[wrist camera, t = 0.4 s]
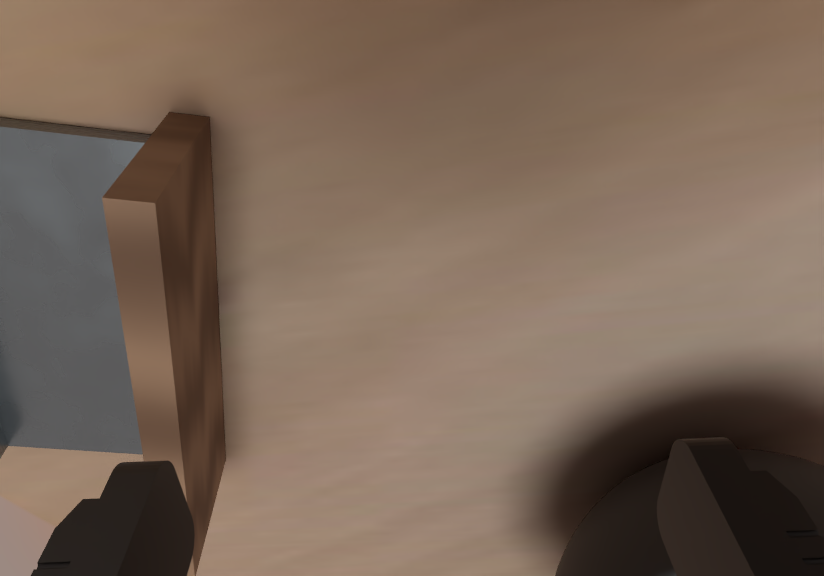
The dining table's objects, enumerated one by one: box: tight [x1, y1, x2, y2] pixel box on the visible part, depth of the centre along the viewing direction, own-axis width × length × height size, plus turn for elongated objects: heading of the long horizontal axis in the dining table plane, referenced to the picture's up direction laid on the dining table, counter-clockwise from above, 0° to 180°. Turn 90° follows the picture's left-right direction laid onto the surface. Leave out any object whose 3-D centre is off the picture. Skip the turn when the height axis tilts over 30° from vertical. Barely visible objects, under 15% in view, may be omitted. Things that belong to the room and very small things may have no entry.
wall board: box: [102, 112, 226, 576], centre depth 27 cm, size 20×2×7 cm, turn 172°
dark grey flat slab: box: [0, 118, 151, 458], centre depth 28 cm, size 18×11×2 cm, turn 172°
